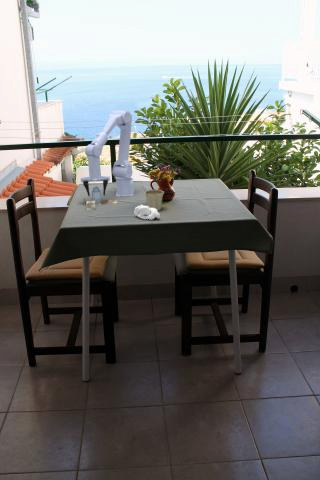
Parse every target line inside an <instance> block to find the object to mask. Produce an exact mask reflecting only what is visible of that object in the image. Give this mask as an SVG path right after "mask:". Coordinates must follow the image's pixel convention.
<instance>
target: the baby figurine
mask: <svg viewBox="0 0 320 480" xmlns="http://www.w3.org/2000/svg"><path fill="white" fill-rule="evenodd" d="M133 213H134V216H135V217H138V218H140V219H142V220H146V219H147V220H148V219H149V221H152V220H154V219H155V218H157V219H159V218H160V217H161V214H160V213H159V211H157V209H155V208H149V207H148V205H143V204H142V203H141V204H140V205H138V206H136V207H134V211H133Z"/></svg>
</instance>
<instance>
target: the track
mask: <svg viewBox="0 0 320 480" xmlns="http://www.w3.org/2000/svg"><path fill="white" fill-rule="evenodd" d="M86 202H87V201H86V198H83V199H82V205H83V206H86ZM114 204H118V203H117V199H113V200H111V199H109V200H101V203H100V204H99V205H114Z"/></svg>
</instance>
